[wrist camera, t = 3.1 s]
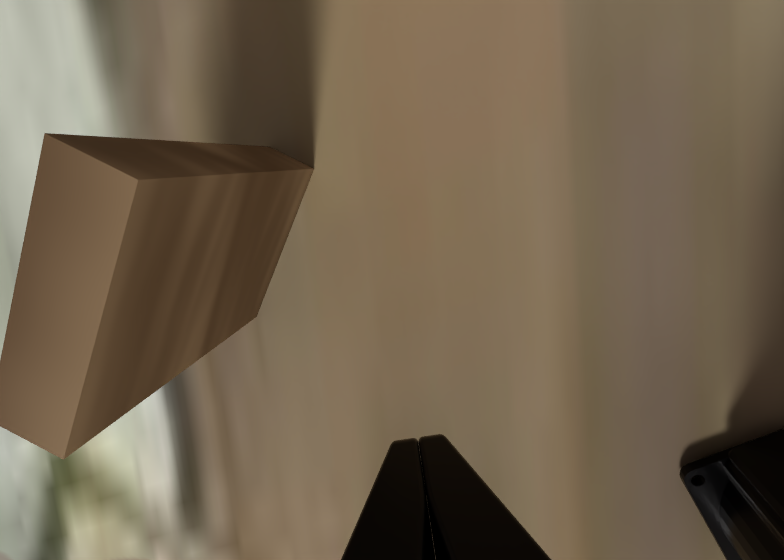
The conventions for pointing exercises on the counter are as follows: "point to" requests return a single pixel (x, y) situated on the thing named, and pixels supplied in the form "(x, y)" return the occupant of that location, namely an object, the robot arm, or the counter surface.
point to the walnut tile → (135, 273)
